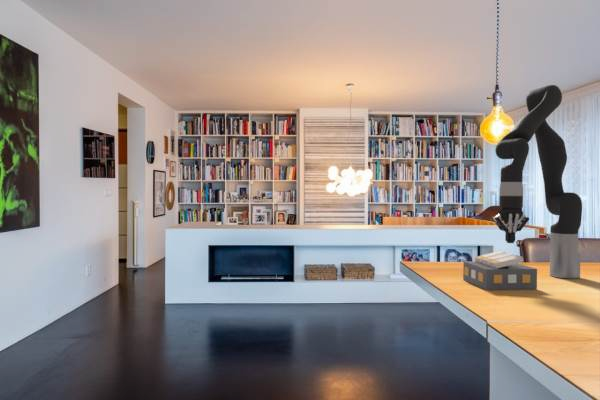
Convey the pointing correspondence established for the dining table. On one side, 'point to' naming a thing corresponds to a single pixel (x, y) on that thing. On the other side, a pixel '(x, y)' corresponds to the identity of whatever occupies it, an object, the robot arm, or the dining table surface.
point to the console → (500, 276)
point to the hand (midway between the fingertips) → (510, 242)
